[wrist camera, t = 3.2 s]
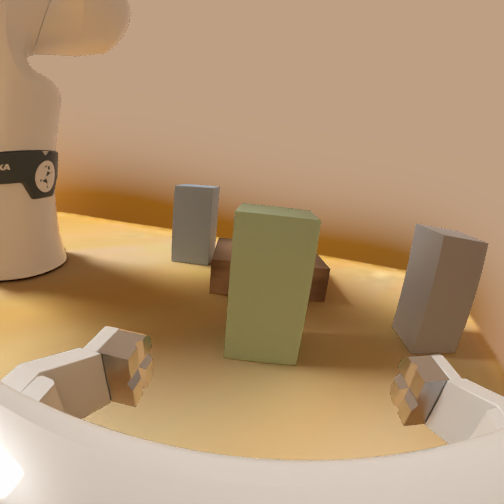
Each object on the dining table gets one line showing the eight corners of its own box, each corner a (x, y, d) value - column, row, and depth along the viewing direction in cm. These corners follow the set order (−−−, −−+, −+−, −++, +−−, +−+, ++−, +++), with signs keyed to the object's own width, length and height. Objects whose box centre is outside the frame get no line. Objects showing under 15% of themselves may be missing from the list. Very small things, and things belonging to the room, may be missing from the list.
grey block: (411, 353, 21) (444, 235, 19) (391, 326, 26) (415, 223, 24) (454, 352, 21) (488, 243, 19) (432, 327, 26) (457, 231, 24)
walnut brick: (209, 296, 31) (211, 259, 30) (217, 267, 40) (219, 237, 39) (323, 304, 31) (330, 269, 30) (305, 274, 41) (309, 245, 40)
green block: (223, 357, 20) (234, 211, 18) (232, 324, 25) (242, 203, 22) (295, 365, 20) (320, 220, 17) (291, 330, 25) (310, 210, 22)
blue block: (171, 261, 40) (174, 185, 37) (181, 251, 45) (185, 184, 42) (207, 265, 40) (213, 188, 37) (214, 255, 44) (219, 186, 42)
